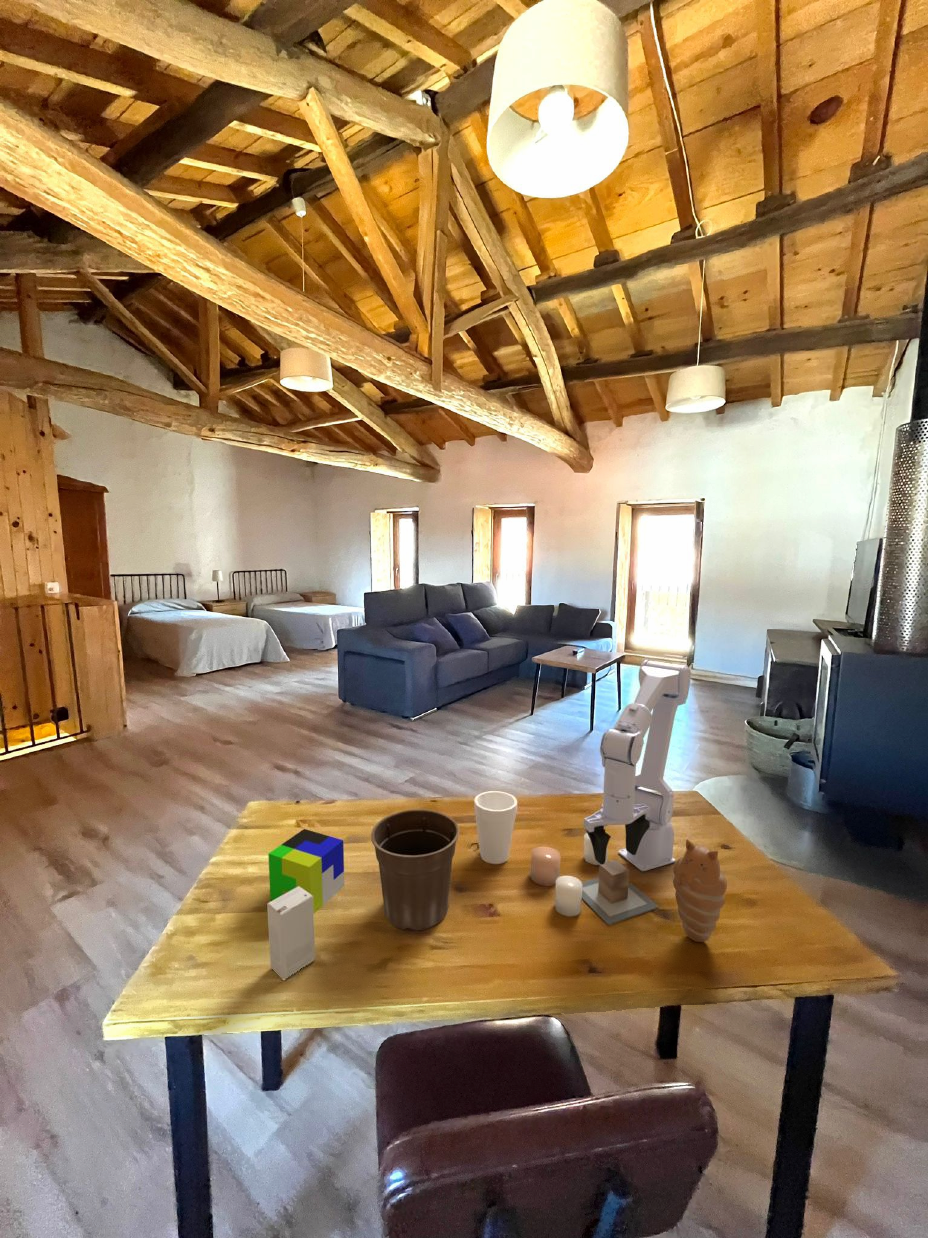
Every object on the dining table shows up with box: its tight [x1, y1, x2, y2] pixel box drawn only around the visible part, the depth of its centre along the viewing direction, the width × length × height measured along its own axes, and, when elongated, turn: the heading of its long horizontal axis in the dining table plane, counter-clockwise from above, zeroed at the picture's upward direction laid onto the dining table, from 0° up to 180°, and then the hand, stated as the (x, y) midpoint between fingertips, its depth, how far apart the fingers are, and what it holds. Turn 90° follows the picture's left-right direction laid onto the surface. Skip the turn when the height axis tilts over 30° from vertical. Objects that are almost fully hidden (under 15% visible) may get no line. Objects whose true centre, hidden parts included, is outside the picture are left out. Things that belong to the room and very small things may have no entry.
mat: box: [581, 876, 660, 926], centre depth 107 cm, size 12×12×1 cm
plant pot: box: [370, 808, 460, 932], centre depth 101 cm, size 16×16×16 cm
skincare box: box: [266, 886, 316, 980], centre depth 88 cm, size 6×4×12 cm
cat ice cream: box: [672, 839, 728, 943], centre depth 94 cm, size 9×8×18 cm
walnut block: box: [598, 859, 630, 904], centre depth 106 cm, size 4×4×6 cm
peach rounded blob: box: [529, 845, 562, 887], centre depth 113 cm, size 6×6×5 cm
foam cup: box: [473, 790, 518, 865], centre depth 120 cm, size 10×9×13 cm
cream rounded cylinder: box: [583, 832, 608, 866], centre depth 119 cm, size 5×5×5 cm
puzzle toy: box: [267, 828, 345, 915], centre depth 106 cm, size 10×10×10 cm
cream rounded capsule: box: [554, 875, 583, 917], centre depth 103 cm, size 5×5×5 cm
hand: (615, 857), depth 106 cm, fingers open, 7 cm apart
